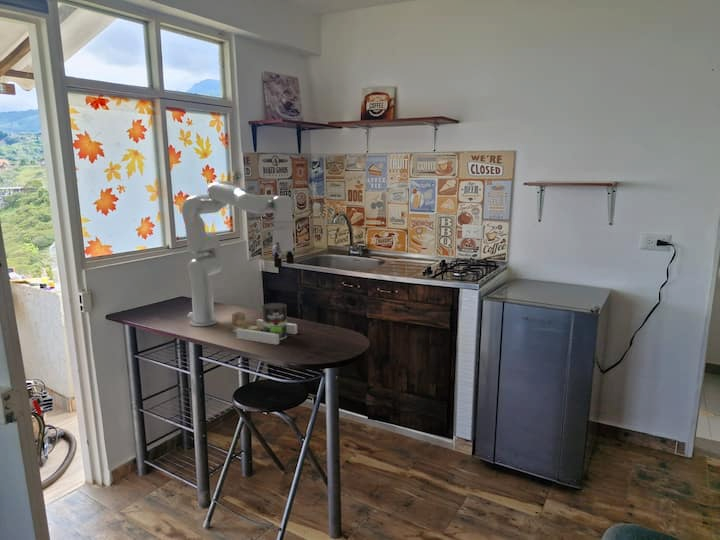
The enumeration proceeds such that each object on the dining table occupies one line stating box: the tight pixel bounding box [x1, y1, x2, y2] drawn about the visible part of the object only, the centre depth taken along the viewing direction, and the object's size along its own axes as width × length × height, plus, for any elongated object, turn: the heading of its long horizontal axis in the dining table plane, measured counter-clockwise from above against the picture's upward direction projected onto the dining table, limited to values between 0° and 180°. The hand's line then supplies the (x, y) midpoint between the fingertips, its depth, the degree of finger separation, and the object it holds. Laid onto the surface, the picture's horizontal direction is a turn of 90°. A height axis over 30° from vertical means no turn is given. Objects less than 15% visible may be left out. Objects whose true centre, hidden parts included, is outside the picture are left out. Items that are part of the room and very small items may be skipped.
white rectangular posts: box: [235, 318, 298, 346], centre depth 217 cm, size 20×17×4 cm
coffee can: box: [261, 302, 288, 341], centre depth 214 cm, size 10×10×14 cm
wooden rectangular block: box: [231, 311, 262, 334], centre depth 220 cm, size 12×4×8 cm, turn 67°
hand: (284, 265), depth 212 cm, fingers open, 9 cm apart
